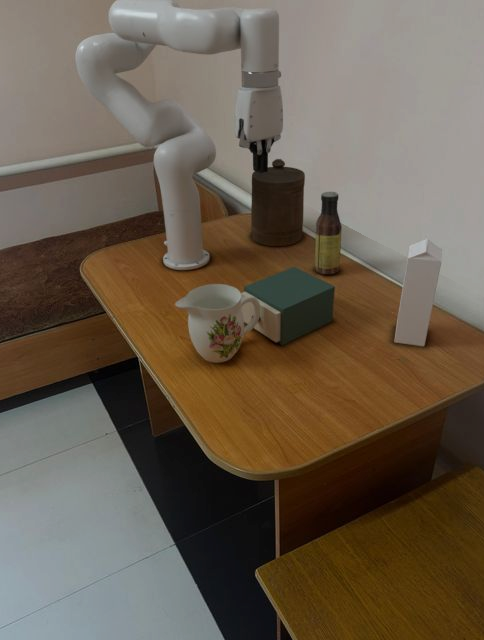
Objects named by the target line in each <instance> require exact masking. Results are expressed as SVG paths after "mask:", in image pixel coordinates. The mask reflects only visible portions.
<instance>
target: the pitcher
mask: <svg viewBox="0 0 484 640" xmlns="http://www.w3.org/2000/svg"><path fill="white" fill-rule="evenodd" d="M241 293H242V292H241V291H240V290H239V289H238V288H236V287H235V286H232V285H229V284H224V283H211V284H205V285H204V284H203V285H201V286H197V287H195V288H193V289H191V290H190V291H189V292H188V293H187V294H186V295H185V296H184V297H182V298H180V299H178V300H176V301H175V302H174V306H175V307H176V308H178V309H183V310H185V312H186V313H187V314H188V318H187V326H188V327H187V328H188V333H189V337H190V340H191V343H192V345H193V347H194V349H195V351H196V352H197V354H198V355H199V356H200V357H202V359H203V360H204V361H207V362H209V363H215V364H216V363H217V364H218V363H219V364H220V363H224V362H227V361H229V360H231V359H233V357H234V356H235V354H236V353H237V352H238V350H239V349H240V347H241V344H242V341H243V338H244V336H245V335H247V334H249V333H250V332H251V331H252V330H253V329H254V327H255V325H256V324H257V322H258V320H259V317H260V303H259V301H258V299H257V298H256V297H254V296H252V295H247V296H245V297H243V298H241ZM247 302H252V303H253V305H254V315H253V318H252V320H251V321H250V322H249V323H248V324H246V325H245V322H244V318H243V314H242V306H243V305H244V304H245V303H247Z"/></svg>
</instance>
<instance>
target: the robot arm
mask: <svg viewBox="0 0 484 640" xmlns="http://www.w3.org/2000/svg"><path fill="white" fill-rule="evenodd" d="M108 23H109V26H110V29H111V30H112V32H107V33H101V34H95V35H91V36H89V37H87V38H85V39H83V40H81V42H80V43H78V46H76V47H77V48H76V51H75V57H74V58H75V66H76V70H77V73H78V76H79V78H80V80H81V82H82V85H83V86H84V87H85V89H86V90H87V91H88V93H89V94H91V96H92V97H93V98H94V99H95V100H96V101H98V102H99V103H100V104H101V105H102V106H103V107H104V108H105V109H106V110H107V111H108V112H109V113H111V115H112V116H113V117H114V118H115V119H116V121H117V122H118V123H119V124H120V125H121V126H122V127H123V128H124V129H125V130H126V132H128V134H129V135H130V136H131V137H132V138H133V139H134V140H135V141H136V142H137V143H138V144H139V145H141V147H145V148H152V147H156V146H157V148H156V150H155V152H154V154H153V166H154V170H155V171H154V172H155V173H156V176H157V180H158V183H159V188H160V194H161V203H162V210H163V220H164V228H165V236H166V240H164V241H163V245H164V246H166V247H167V252H166V253H165V254H164V255H163V257H162V262H163V264H164V265H165V267H167V268H169V269H172V270H175V271H176V270H177V271H190V270H191V271H192V270H195V269H196V270H197V269H199V268H202V267H204V266H206V265H207V264H209V262H210V258H211V257H210V253H209V252H208V251H207V250H206V249H204V239H203V225H202V211H201V210H202V209H201V198H200V192H199V189H198V187H197V185H196V183H195V180H194V179H193V178H194V177H193V176H194V175H196V174H198V173H200V172H202V171H204V170H206V169H208V168H210V167H211V166H212V165H213V164H214V162H215V160H216V157H217V148H216V145H215V143H214V140H213V139H212V137H211V136H210V134H209V133H208V132H207V131H206V129H204V128H203V127H202V125H201V123H199V122H198V121H197V120H196V119H195V118H194V116H192V114H191V113H190V112H189V111H188V110H187V109H186V108H185V107H184V106H183V105H182V104H180V103H179V102H178V101H175V100H173V99H161V100H157V101H151V100H149V99H147V98H146V97H145V96H144V95H142V93H141V92H140V90H139V89H138V88H136V87H135V85H133V84H132V83H131V82H130V81H127V80H126V79H124V78H122V77H120V76H119V75H117V74H121V73H124V72H130V71H133V70H136V69H137V68H139V67H140V66H141V65H143V63H144V62H145V61H146V60H147V58H148V57H149V56H150V55H151V53H152V52H153V50H154V49H155V48H156V46H165V47H168V48H170V49H172V50H173V51H177V52H182V53H188V54H197V55H206V56H207V55H210V56H211V55H216V54H220V53H225V52H231V51H236V50H240V68H241V69H240V70H241V72H240V73H241V75H240V76H241V88H238V90H237V96H236V101H235V102H236V103H235V114H234V115H235V117H234V134H235V138H237V139H238V140H239V143H238V146H239V147H240V148H242V149H248V150H249V152H250V153H251V154H252V169H253V172H255V171H256V172H259V173H264V172H267V171H268V167H269V154H270V152H271V149H272V146H273V145H274V143H276V142H278V141H279V140H281V137H282V135H281V134H282V133H283V130H284V128H283V127H284V106H283V105H284V103H283V96H282V90H281V86H280V85H279V79H280V78H281V77H282V72H281V71H280V69H279V67H280V65H279V61H280V14H279V12H278V10H277V9H275V8H271V7H257V8H244V7H239V6H229V7H217V8H216V7H215V8H210V9H209V8H208V9H197V8H196V9H195V8H183V7H181V6H180V4H178V2H177V1H175V0H115V1H114V2H113V3H112V4H111V6H110V8H109V10H108Z"/></svg>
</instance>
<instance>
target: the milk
mask: <svg viewBox="0 0 484 640" xmlns="http://www.w3.org/2000/svg"><path fill="white" fill-rule="evenodd" d="M442 252H443V249H442V247H440V246H438V245H437V244H436V243H434V242H433V241H431V240H430V239H429V231H427V235H426V239H423V240H420V241H418V242H415V243H413V244H411V245H409V246H408V252H407V259H406V264H405V269H404V270H405V271H404V275H403V282H402V288H401V295H400V301H399V305H398V306H399V307H398V313H397V319H396V320H397V321H396V326H395V331H394V332H395V333H394V340H393V342H394V343H396V344H403V345H409V346H416V347H417V346H418V347H425V345H426V340H427V335H428V331H429V327H430V326H429V325H430V321H431V316H432V311H433V306H434V300H435V296H436V293H437V292H436V291H437V286H438V281H439V277H440V276H439V275H440V273H441V268H442V259H443V257H442V256H443V255H442V254H443V253H442Z"/></svg>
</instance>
